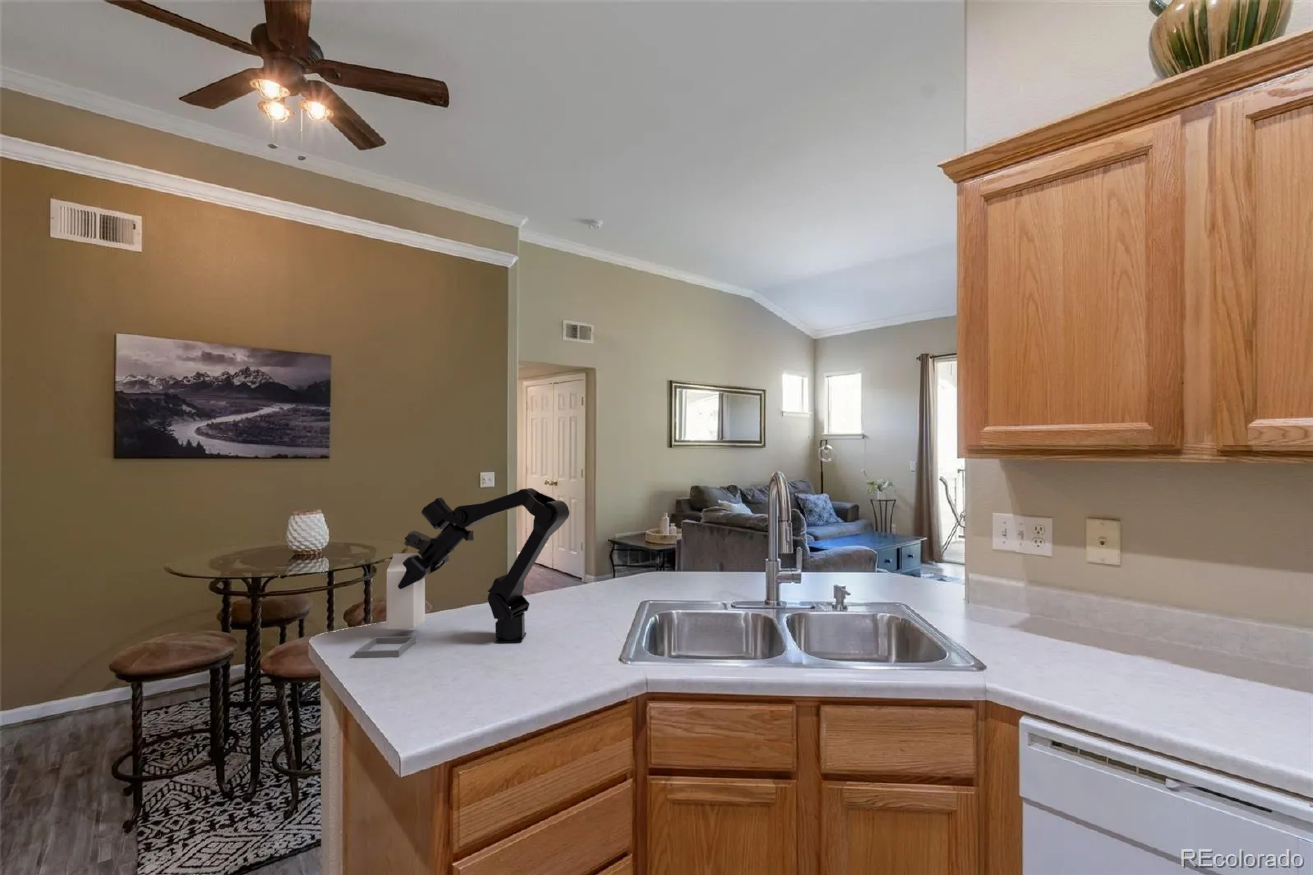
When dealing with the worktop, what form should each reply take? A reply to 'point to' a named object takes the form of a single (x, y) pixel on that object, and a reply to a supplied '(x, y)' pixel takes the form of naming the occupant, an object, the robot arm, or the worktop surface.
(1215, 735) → the worktop surface
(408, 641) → the drip tray
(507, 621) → the robot arm
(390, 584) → the milk carton
